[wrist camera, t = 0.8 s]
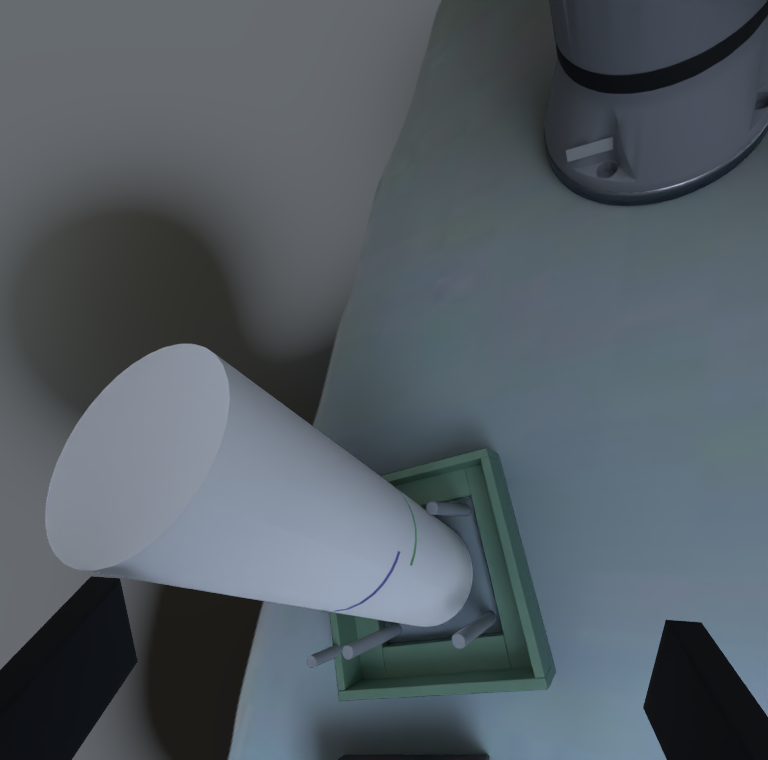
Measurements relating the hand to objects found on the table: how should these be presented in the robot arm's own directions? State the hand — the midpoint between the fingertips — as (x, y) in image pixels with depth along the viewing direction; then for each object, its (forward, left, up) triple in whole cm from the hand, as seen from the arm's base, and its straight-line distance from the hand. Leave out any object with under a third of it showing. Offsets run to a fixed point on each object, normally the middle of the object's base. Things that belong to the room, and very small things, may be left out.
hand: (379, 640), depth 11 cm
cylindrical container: (+8, -1, -22) cm, 23 cm away
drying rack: (+8, -1, -23) cm, 24 cm away
